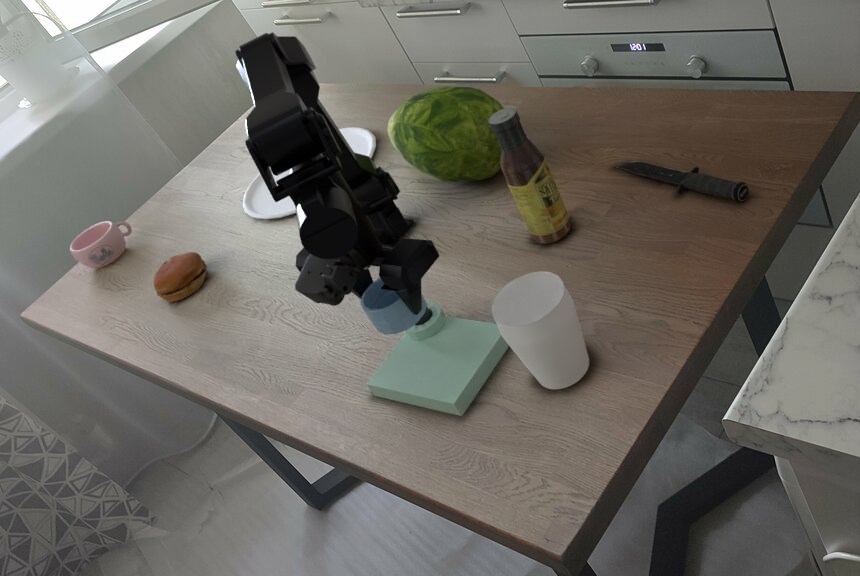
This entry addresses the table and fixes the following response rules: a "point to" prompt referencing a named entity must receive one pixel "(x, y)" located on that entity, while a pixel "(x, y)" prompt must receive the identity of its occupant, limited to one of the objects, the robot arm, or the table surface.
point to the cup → (542, 328)
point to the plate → (258, 195)
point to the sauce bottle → (530, 179)
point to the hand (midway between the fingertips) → (397, 309)
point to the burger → (180, 276)
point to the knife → (690, 180)
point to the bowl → (388, 309)
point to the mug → (100, 244)
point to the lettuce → (448, 133)
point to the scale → (440, 363)
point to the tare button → (424, 317)
